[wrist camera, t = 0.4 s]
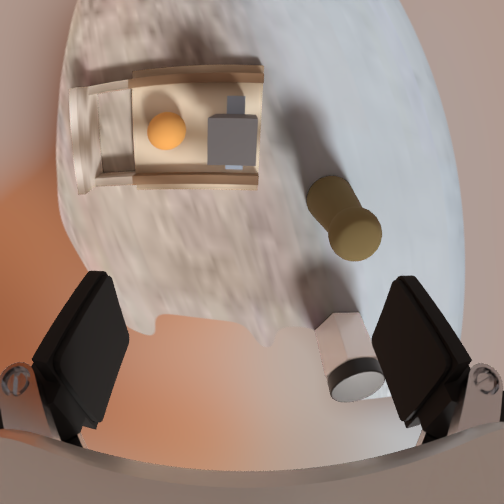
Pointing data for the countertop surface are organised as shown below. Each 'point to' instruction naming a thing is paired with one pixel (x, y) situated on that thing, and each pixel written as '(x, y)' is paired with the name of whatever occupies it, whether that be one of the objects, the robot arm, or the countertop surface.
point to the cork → (344, 218)
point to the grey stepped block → (232, 136)
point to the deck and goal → (158, 101)
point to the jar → (348, 357)
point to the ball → (166, 131)
